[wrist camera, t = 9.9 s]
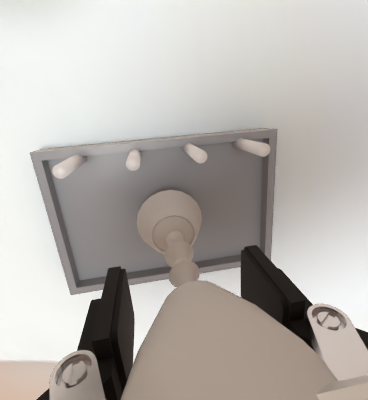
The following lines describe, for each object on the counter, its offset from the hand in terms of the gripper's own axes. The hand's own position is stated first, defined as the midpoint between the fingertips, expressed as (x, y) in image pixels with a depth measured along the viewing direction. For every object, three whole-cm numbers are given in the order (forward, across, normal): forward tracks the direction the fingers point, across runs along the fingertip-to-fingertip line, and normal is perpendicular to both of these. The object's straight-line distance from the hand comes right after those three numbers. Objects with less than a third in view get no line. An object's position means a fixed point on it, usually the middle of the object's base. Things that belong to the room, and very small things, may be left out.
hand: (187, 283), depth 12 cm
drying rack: (+11, 0, 0) cm, 11 cm away
